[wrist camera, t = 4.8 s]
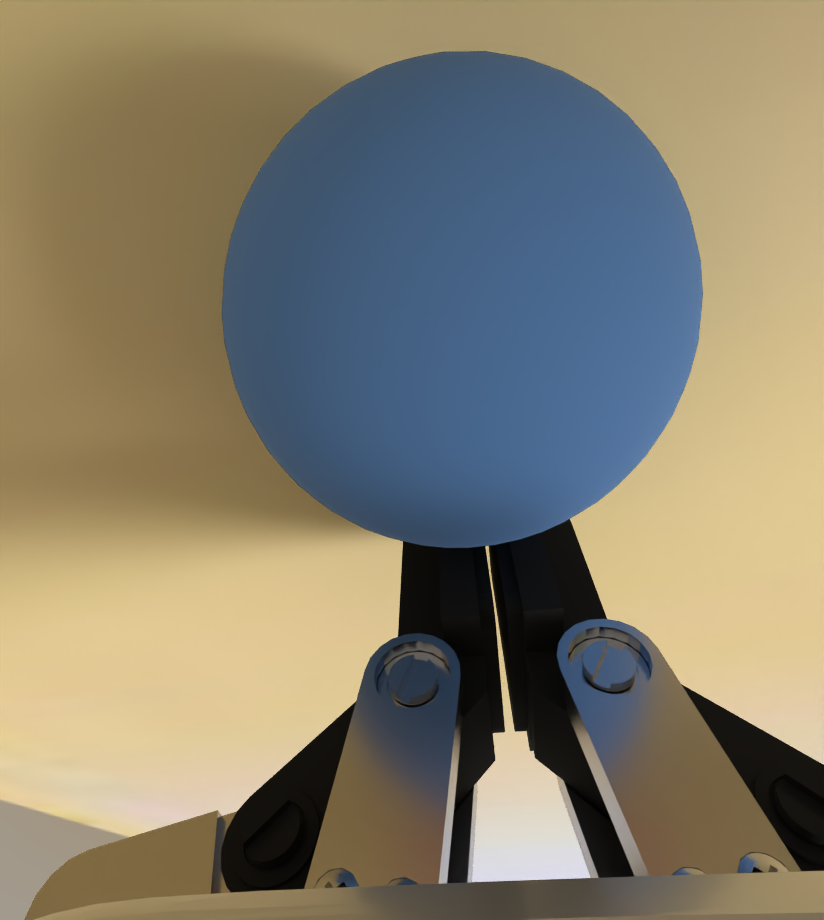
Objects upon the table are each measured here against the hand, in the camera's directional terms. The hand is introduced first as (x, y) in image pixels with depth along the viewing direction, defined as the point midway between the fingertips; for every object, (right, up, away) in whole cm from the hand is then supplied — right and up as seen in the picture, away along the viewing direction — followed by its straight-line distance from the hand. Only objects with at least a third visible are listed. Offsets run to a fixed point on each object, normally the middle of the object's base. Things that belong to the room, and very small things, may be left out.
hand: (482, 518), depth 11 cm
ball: (-1, +3, -4) cm, 5 cm away
